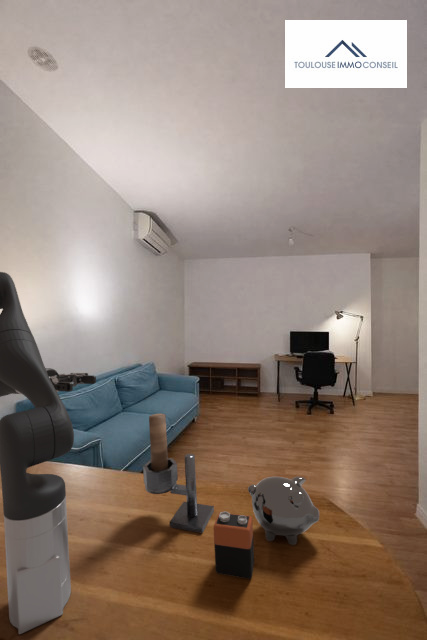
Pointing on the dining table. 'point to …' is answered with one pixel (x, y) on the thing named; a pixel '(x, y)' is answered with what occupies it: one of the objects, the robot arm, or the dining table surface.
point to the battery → (234, 545)
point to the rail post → (158, 442)
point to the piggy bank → (283, 507)
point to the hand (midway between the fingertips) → (84, 383)
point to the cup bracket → (166, 480)
